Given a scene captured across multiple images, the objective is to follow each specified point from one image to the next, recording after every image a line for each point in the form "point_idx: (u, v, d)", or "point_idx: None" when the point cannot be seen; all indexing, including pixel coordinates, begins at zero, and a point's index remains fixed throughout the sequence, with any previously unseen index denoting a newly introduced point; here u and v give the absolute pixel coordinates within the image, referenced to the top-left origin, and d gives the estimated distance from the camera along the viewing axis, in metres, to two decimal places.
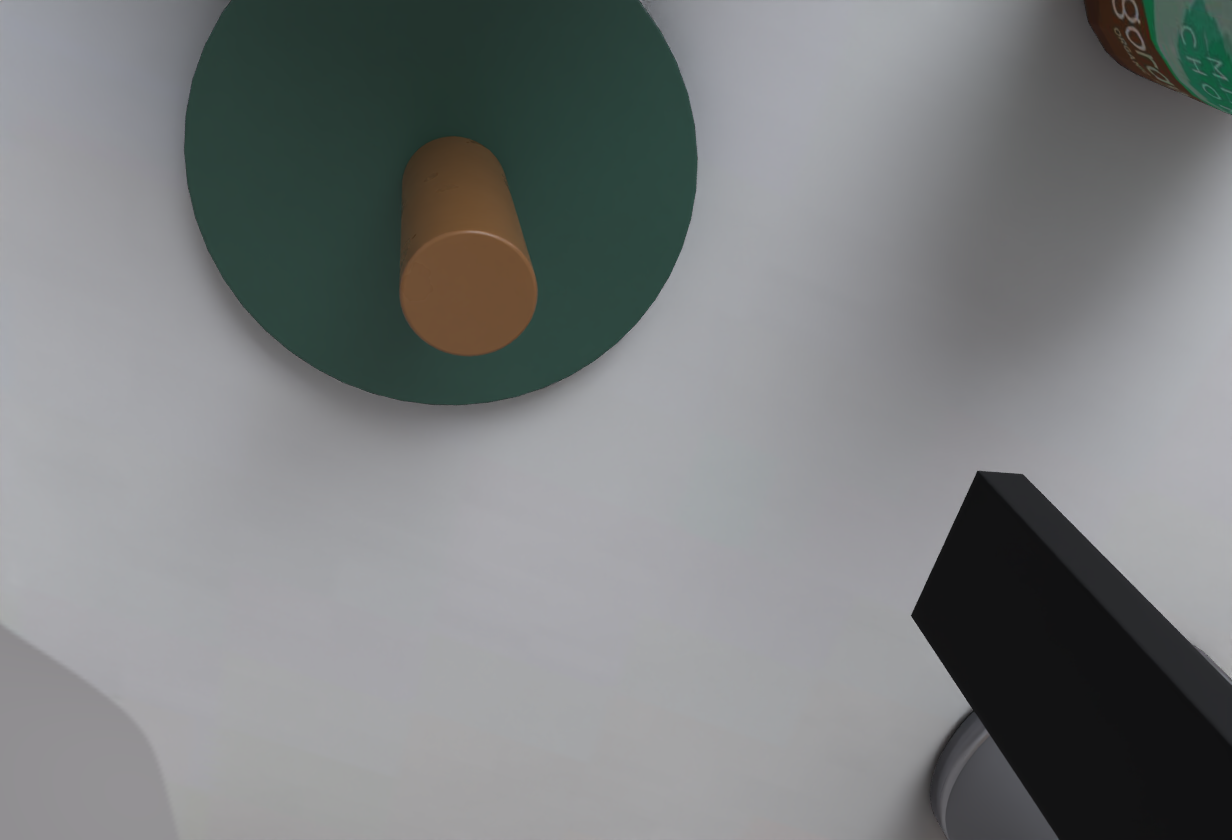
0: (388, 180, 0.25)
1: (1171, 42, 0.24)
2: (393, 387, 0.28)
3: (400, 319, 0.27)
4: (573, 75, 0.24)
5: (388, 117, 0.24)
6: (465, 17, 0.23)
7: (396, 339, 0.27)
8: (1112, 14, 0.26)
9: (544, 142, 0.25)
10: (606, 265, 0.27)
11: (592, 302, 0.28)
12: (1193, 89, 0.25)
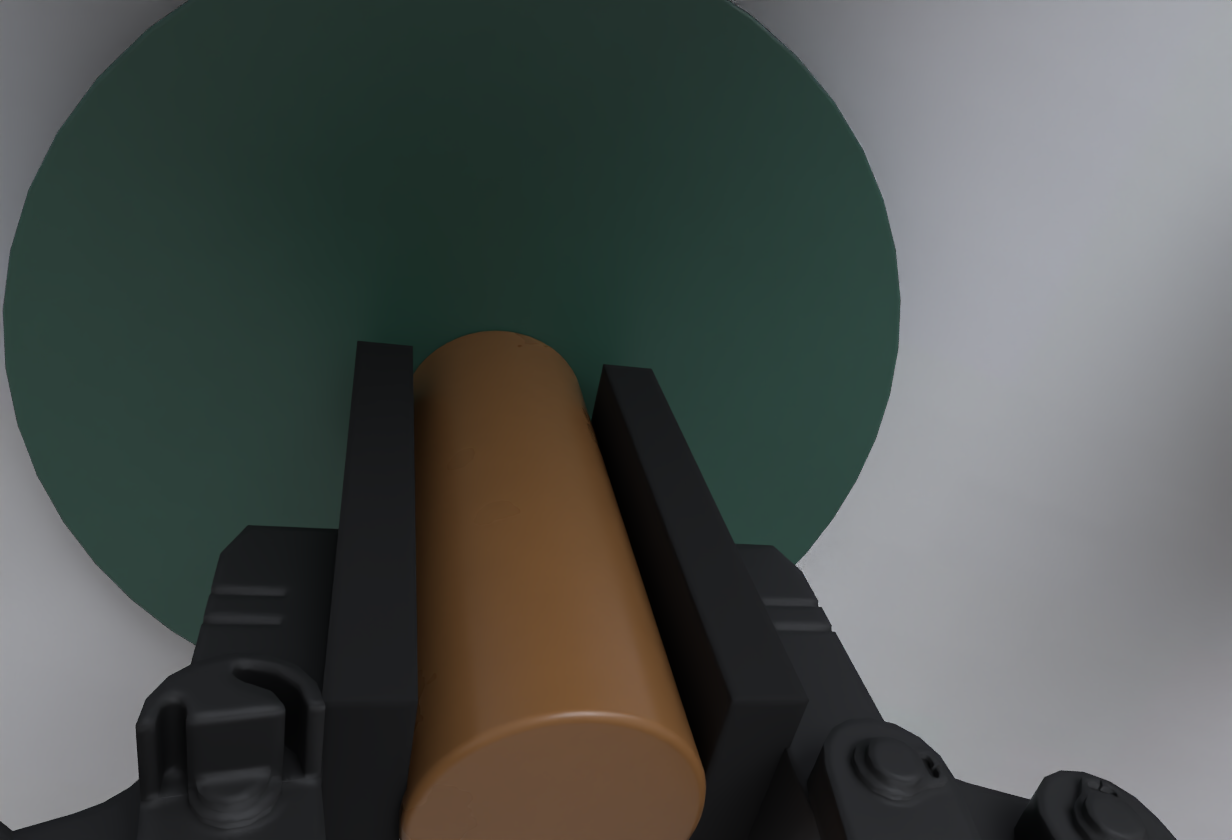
0: None
1: None
2: None
3: None
4: (706, 225, 0.14)
5: (378, 303, 0.13)
6: (521, 132, 0.13)
7: None
8: None
9: (649, 333, 0.15)
10: (735, 510, 0.17)
11: None
12: None
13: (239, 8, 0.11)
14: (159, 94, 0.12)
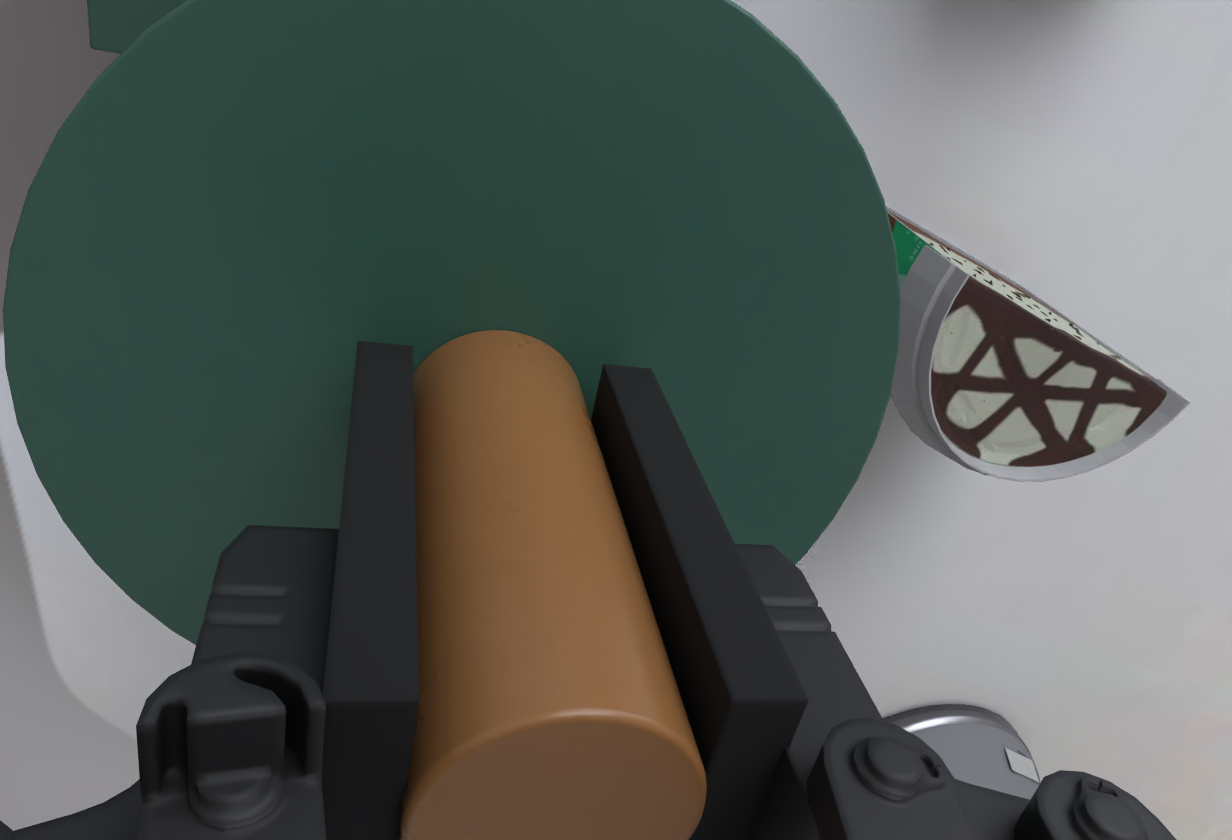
0: None
1: None
2: None
3: None
4: (707, 225, 0.14)
5: (379, 302, 0.13)
6: (521, 131, 0.13)
7: None
8: None
9: (649, 333, 0.15)
10: (736, 509, 0.17)
11: None
12: None
13: (239, 7, 0.11)
14: (159, 93, 0.12)
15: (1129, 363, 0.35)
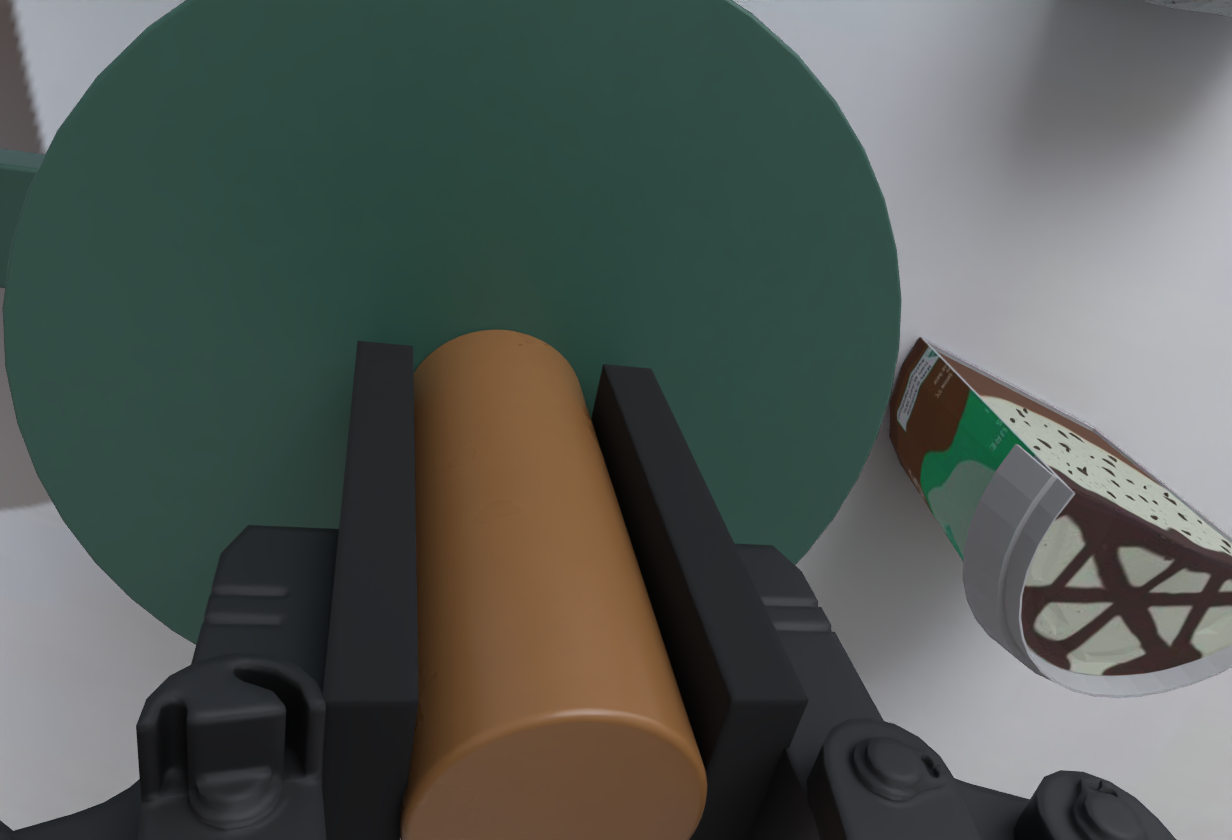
0: None
1: (942, 528, 0.32)
2: None
3: None
4: (707, 224, 0.14)
5: (379, 302, 0.13)
6: (521, 130, 0.13)
7: None
8: (911, 477, 0.34)
9: (649, 332, 0.15)
10: (736, 509, 0.17)
11: None
12: None
13: (239, 6, 0.11)
14: (159, 92, 0.12)
15: None
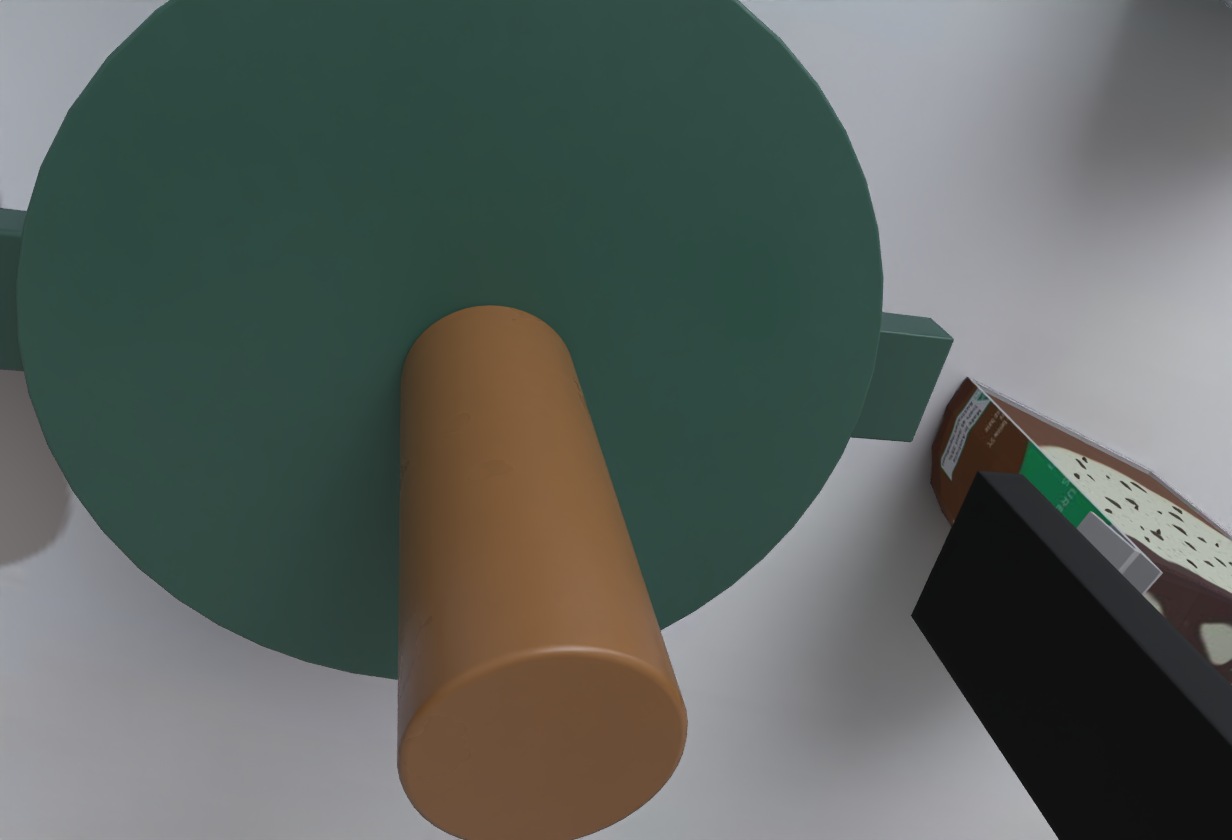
0: (377, 375, 0.15)
1: None
2: (385, 663, 0.18)
3: (397, 573, 0.17)
4: (694, 203, 0.14)
5: (377, 277, 0.14)
6: (514, 111, 0.13)
7: (390, 600, 0.17)
8: None
9: (639, 309, 0.15)
10: (724, 483, 0.17)
11: (698, 534, 0.18)
12: None
13: None
14: (166, 73, 0.12)
15: None
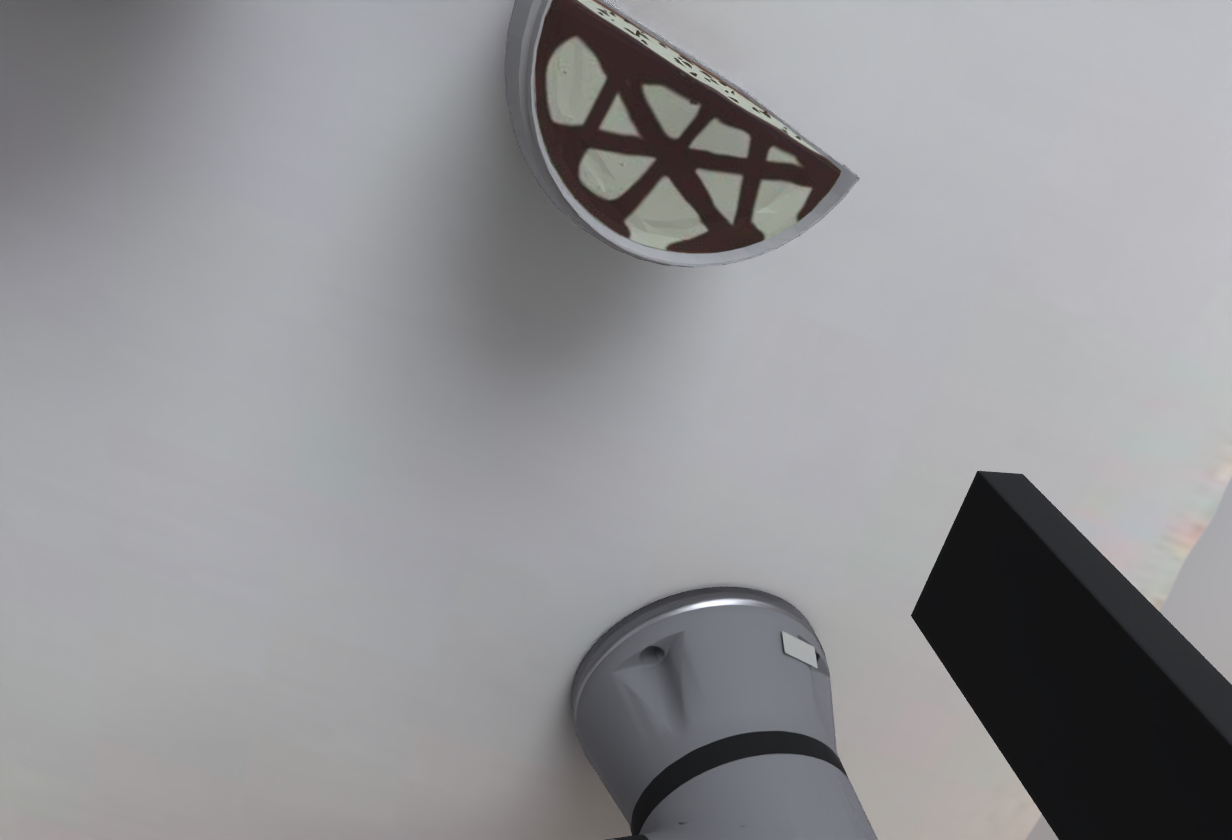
0: None
1: None
2: None
3: None
4: None
5: None
6: None
7: None
8: None
9: None
10: None
11: None
12: None
13: None
14: None
15: (816, 148, 0.32)
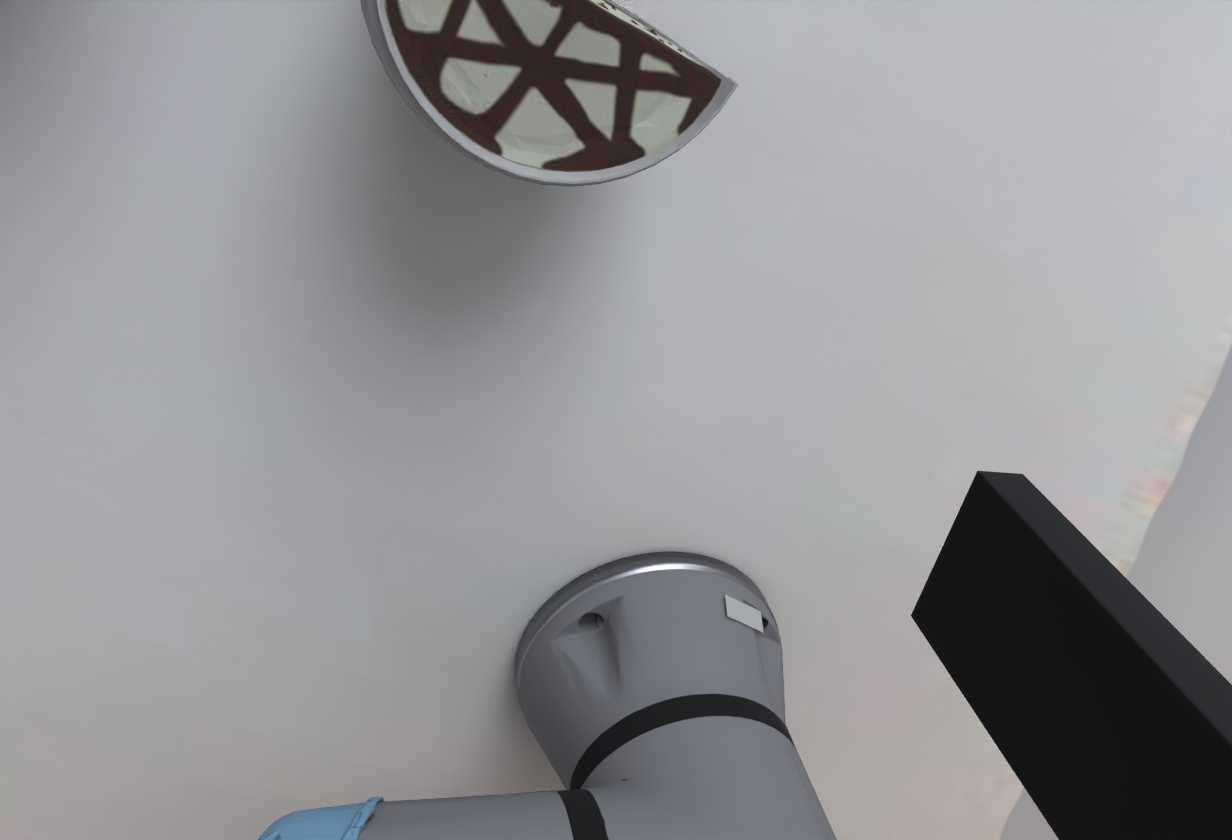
0: None
1: None
2: None
3: None
4: None
5: None
6: None
7: None
8: None
9: None
10: None
11: None
12: None
13: None
14: None
15: (700, 62, 0.31)
